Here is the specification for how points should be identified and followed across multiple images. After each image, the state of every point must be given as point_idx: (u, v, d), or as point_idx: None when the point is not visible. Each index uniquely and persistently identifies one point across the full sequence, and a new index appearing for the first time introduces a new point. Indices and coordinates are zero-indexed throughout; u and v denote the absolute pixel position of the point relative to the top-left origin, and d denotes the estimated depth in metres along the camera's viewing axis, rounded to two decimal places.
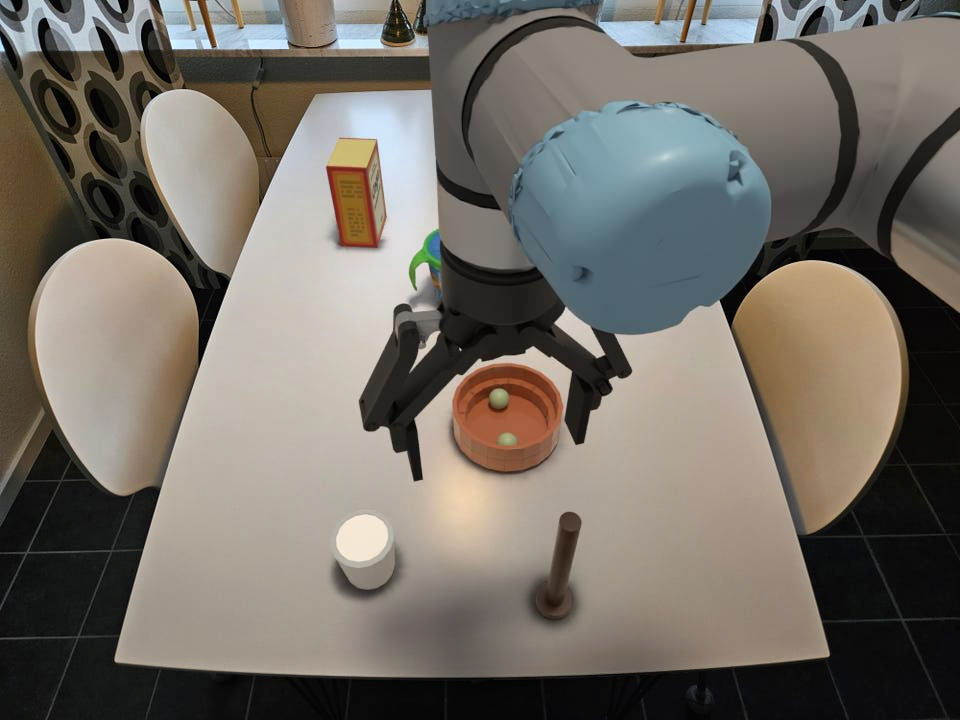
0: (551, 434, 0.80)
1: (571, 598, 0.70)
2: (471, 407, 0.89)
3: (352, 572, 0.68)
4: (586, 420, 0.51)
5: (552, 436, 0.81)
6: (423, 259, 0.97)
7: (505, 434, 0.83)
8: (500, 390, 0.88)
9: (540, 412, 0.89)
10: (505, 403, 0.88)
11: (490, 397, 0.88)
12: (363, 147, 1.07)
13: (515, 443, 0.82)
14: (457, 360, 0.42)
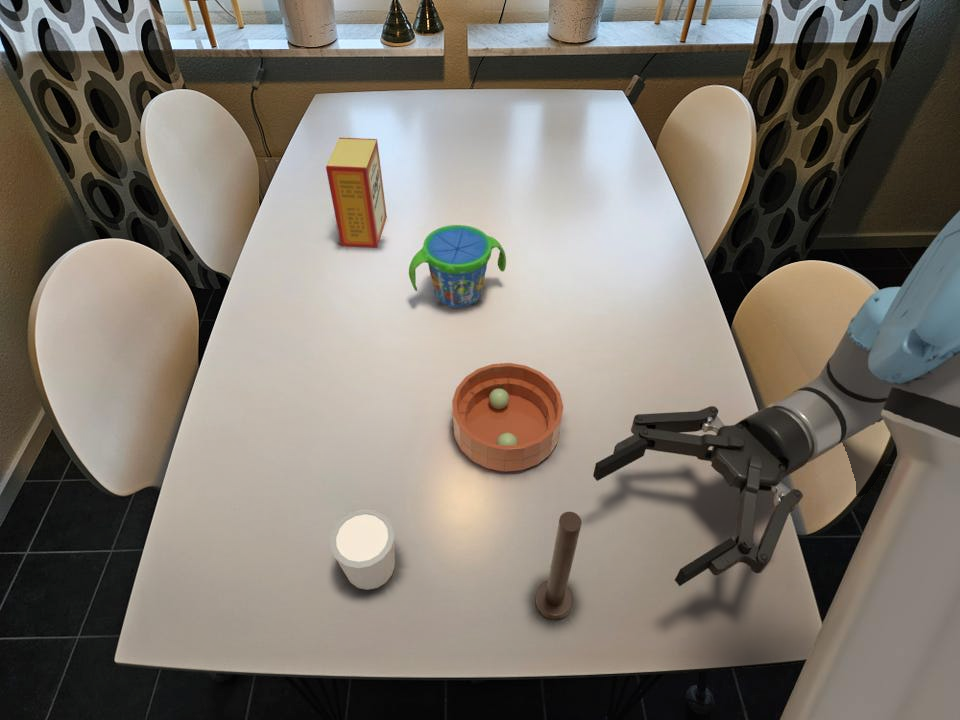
0: (551, 434, 0.80)
1: (571, 598, 0.70)
2: (471, 407, 0.89)
3: (352, 572, 0.68)
4: (709, 558, 0.62)
5: (552, 436, 0.81)
6: (423, 259, 0.97)
7: (505, 434, 0.83)
8: (500, 390, 0.88)
9: (540, 412, 0.89)
10: (505, 403, 0.88)
11: (490, 397, 0.88)
12: (363, 147, 1.07)
13: (515, 443, 0.82)
14: (714, 435, 0.71)
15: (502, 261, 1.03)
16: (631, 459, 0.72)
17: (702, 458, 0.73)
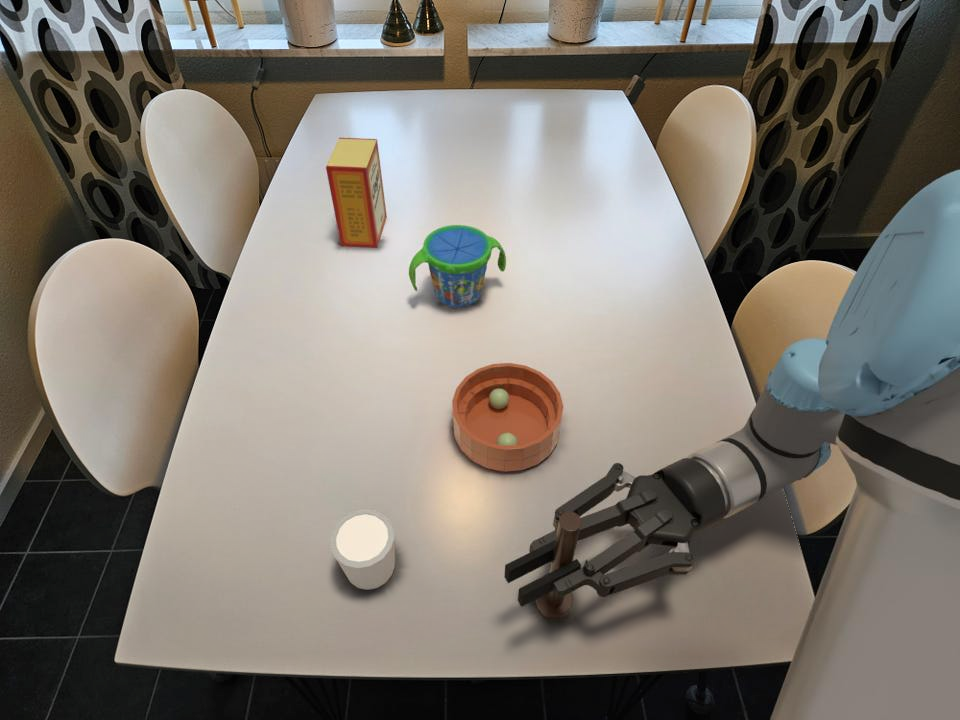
0: (551, 434, 0.80)
1: (571, 598, 0.70)
2: (471, 407, 0.89)
3: (352, 572, 0.68)
4: (550, 579, 0.61)
5: (552, 436, 0.81)
6: (423, 259, 0.97)
7: (505, 434, 0.83)
8: (500, 390, 0.88)
9: (540, 412, 0.89)
10: (505, 403, 0.88)
11: (490, 397, 0.88)
12: (363, 147, 1.07)
13: (515, 443, 0.82)
14: (627, 498, 0.67)
15: (502, 261, 1.03)
16: (548, 559, 0.65)
17: (623, 524, 0.68)
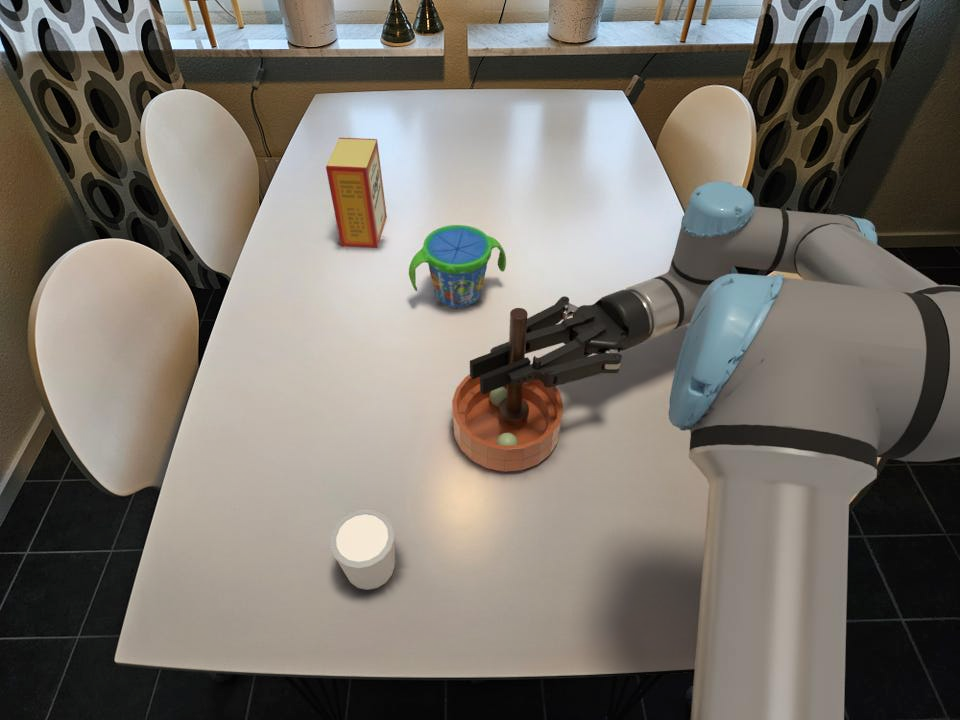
0: (551, 434, 0.80)
1: (527, 408, 0.86)
2: (471, 407, 0.89)
3: (352, 572, 0.68)
4: (505, 369, 0.77)
5: (552, 436, 0.81)
6: (423, 259, 0.97)
7: (505, 434, 0.83)
8: (500, 387, 0.88)
9: (540, 412, 0.89)
10: None
11: (491, 395, 0.88)
12: (363, 147, 1.07)
13: (515, 443, 0.82)
14: (570, 318, 0.83)
15: (502, 261, 1.03)
16: (505, 362, 0.80)
17: (567, 342, 0.84)
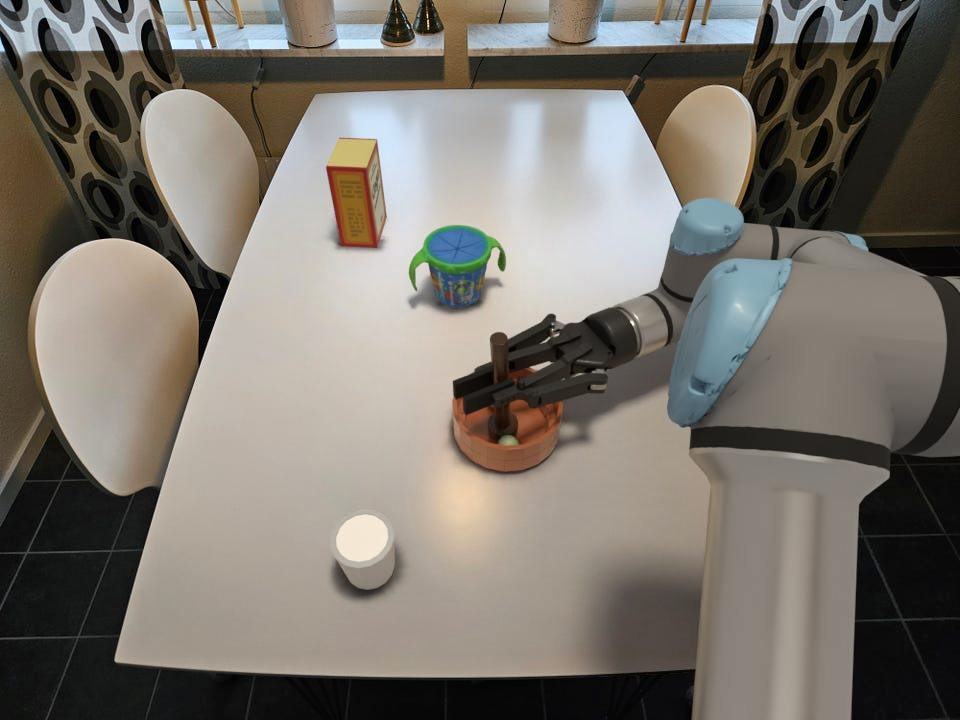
0: (551, 434, 0.80)
1: (516, 425, 0.85)
2: None
3: (352, 572, 0.68)
4: (489, 390, 0.75)
5: (552, 436, 0.81)
6: (423, 259, 0.97)
7: (507, 438, 0.82)
8: None
9: (540, 412, 0.89)
10: None
11: None
12: (363, 147, 1.07)
13: None
14: (556, 336, 0.81)
15: (502, 261, 1.03)
16: (489, 381, 0.79)
17: (554, 360, 0.82)
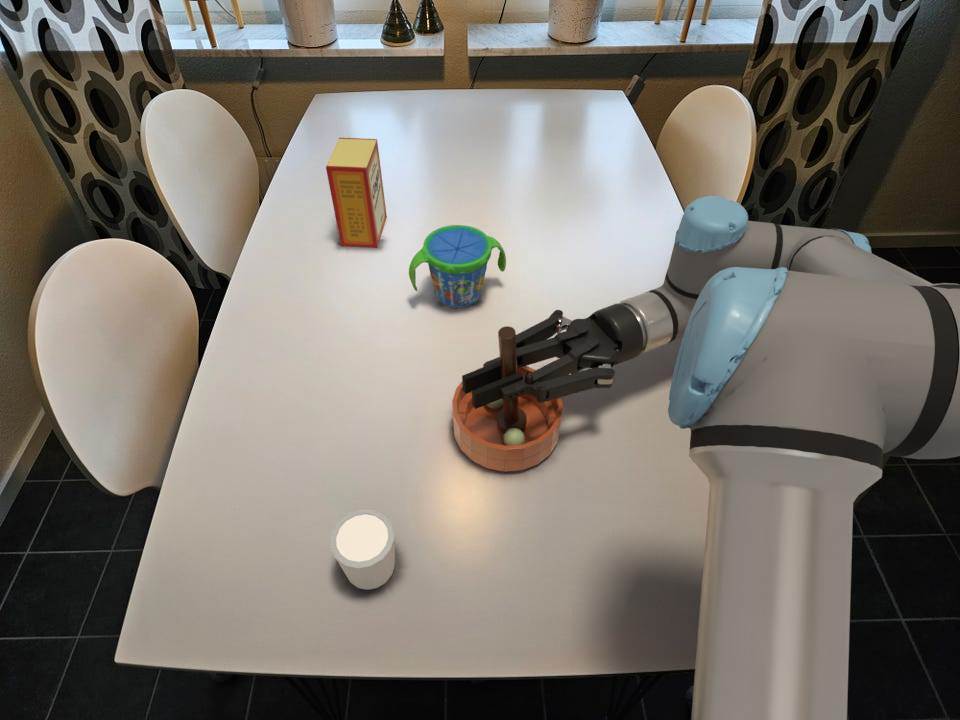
0: (551, 434, 0.80)
1: (524, 420, 0.86)
2: (471, 407, 0.89)
3: (352, 572, 0.68)
4: (497, 384, 0.77)
5: (552, 436, 0.81)
6: (423, 259, 0.97)
7: (511, 428, 0.84)
8: None
9: (540, 412, 0.89)
10: (499, 402, 0.87)
11: None
12: (363, 147, 1.07)
13: (511, 438, 0.83)
14: (563, 332, 0.82)
15: (502, 261, 1.03)
16: (498, 376, 0.80)
17: (561, 356, 0.84)
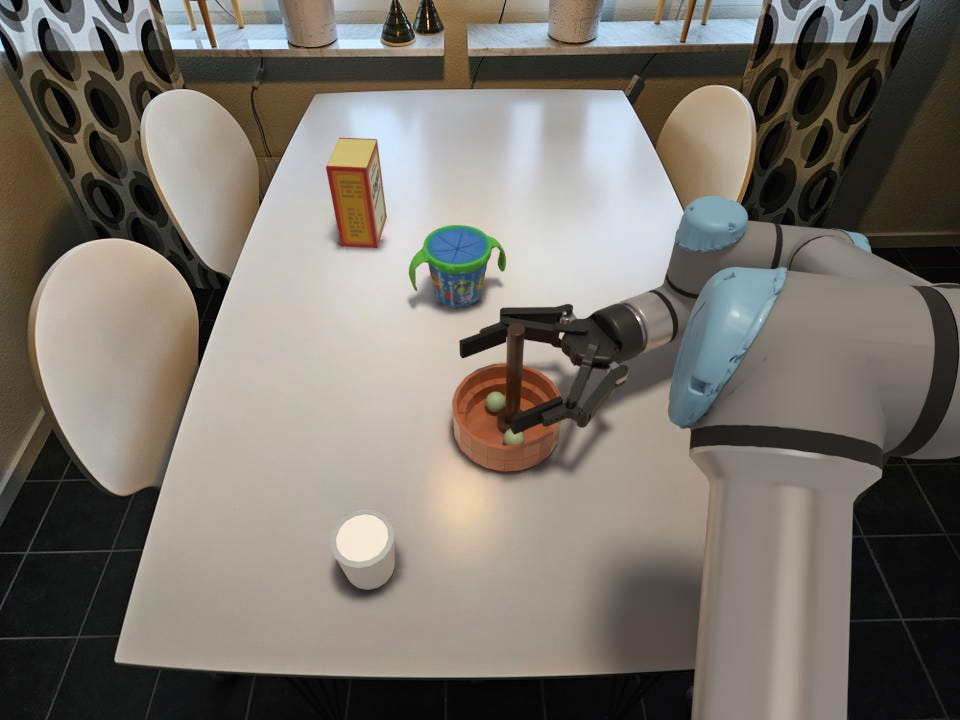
0: (551, 434, 0.80)
1: None
2: (471, 407, 0.89)
3: (352, 572, 0.68)
4: (538, 409, 0.74)
5: (552, 436, 0.81)
6: (423, 259, 0.97)
7: None
8: (495, 396, 0.87)
9: None
10: (501, 408, 0.87)
11: (486, 402, 0.88)
12: (363, 147, 1.07)
13: (511, 439, 0.83)
14: (564, 323, 0.83)
15: (502, 261, 1.03)
16: (493, 342, 0.84)
17: (556, 345, 0.85)
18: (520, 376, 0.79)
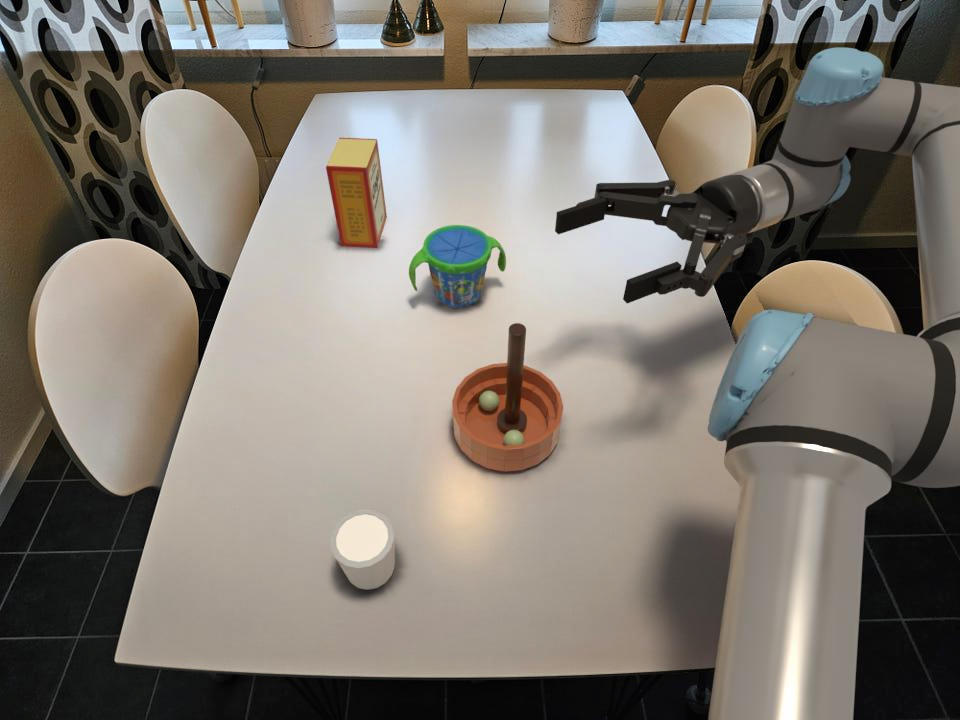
0: (551, 434, 0.80)
1: (525, 421, 0.86)
2: (471, 407, 0.89)
3: (352, 572, 0.68)
4: (655, 273, 0.67)
5: (552, 436, 0.81)
6: (423, 259, 0.97)
7: (510, 431, 0.83)
8: (482, 396, 0.87)
9: (540, 412, 0.89)
10: (493, 405, 0.87)
11: (480, 405, 0.88)
12: (363, 147, 1.07)
13: (511, 443, 0.82)
14: None
15: (502, 261, 1.03)
16: (591, 218, 0.77)
17: (658, 222, 0.78)
18: (521, 376, 0.79)
